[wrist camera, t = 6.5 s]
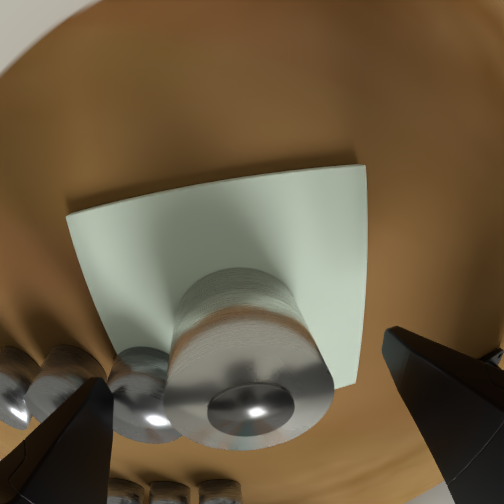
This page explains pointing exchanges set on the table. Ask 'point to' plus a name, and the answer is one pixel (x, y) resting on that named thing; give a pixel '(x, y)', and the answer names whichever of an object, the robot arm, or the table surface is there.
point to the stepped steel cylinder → (243, 364)
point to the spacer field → (124, 416)
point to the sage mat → (233, 253)
